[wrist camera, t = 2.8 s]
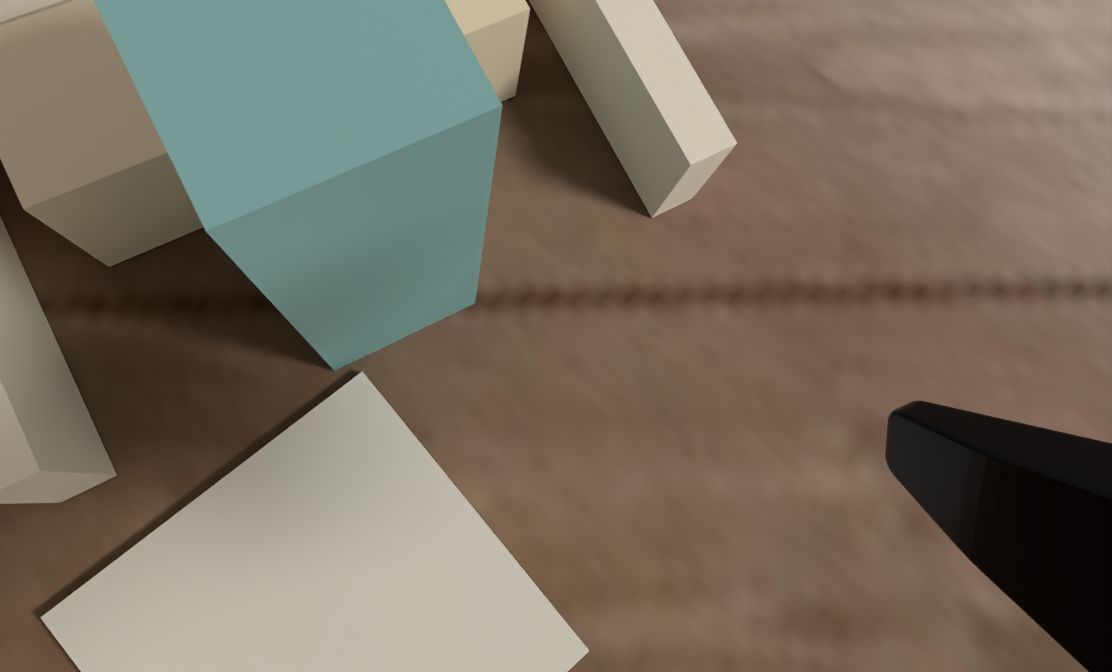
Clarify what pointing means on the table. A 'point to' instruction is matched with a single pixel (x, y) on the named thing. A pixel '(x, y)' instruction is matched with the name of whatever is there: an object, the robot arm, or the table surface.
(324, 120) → the teal blank
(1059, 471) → the robot arm
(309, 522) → the felt mat
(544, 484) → the table surface
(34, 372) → the cubby
